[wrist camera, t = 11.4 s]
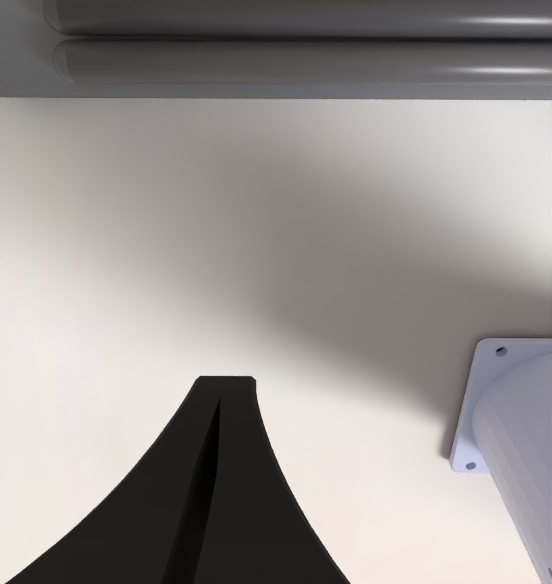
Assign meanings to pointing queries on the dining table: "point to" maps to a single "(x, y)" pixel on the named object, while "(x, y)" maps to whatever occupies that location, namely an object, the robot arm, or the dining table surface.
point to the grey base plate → (277, 49)
